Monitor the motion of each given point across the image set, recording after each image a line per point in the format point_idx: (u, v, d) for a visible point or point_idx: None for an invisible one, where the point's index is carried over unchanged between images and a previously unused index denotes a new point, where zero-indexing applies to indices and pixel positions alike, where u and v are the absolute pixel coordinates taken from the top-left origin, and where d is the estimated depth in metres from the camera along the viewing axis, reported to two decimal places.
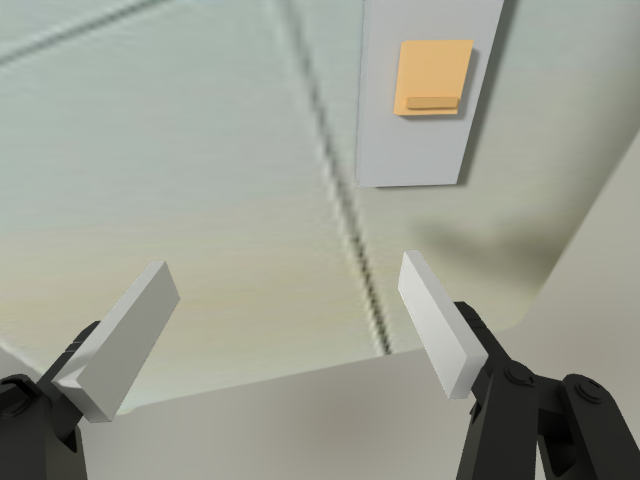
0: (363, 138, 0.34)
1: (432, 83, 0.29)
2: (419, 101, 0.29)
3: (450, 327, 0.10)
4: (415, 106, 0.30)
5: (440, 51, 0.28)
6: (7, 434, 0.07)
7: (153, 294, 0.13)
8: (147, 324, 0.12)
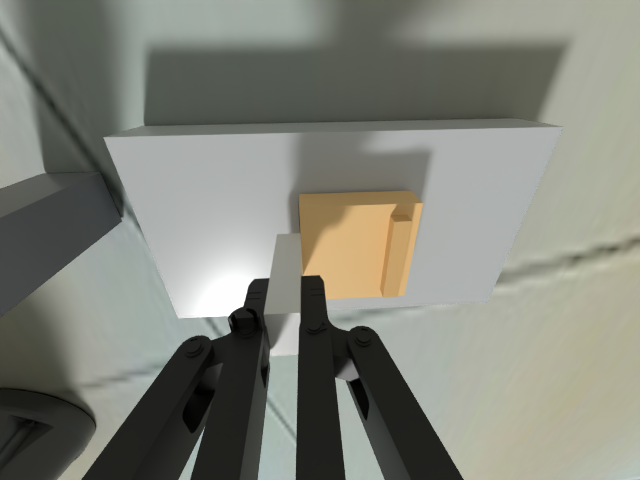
0: (411, 304, 0.22)
1: (363, 257, 0.17)
2: (390, 282, 0.17)
3: (284, 292, 0.12)
4: (397, 286, 0.17)
5: (318, 256, 0.16)
6: (238, 350, 0.09)
7: None
8: None
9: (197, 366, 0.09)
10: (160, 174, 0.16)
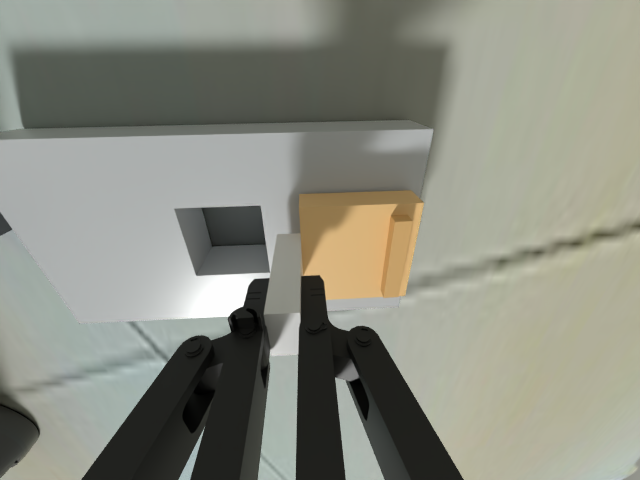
0: None
1: (363, 258, 0.17)
2: (391, 282, 0.17)
3: (284, 292, 0.12)
4: (398, 286, 0.17)
5: (318, 256, 0.16)
6: (238, 350, 0.09)
7: None
8: None
9: (197, 366, 0.09)
10: (21, 179, 0.15)
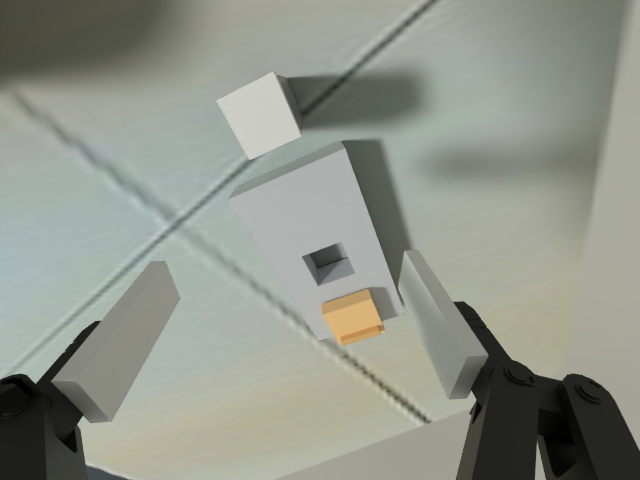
0: (301, 313, 0.39)
1: (354, 325, 0.37)
2: (350, 340, 0.38)
3: (450, 327, 0.10)
4: (348, 343, 0.38)
5: (349, 311, 0.36)
6: (7, 434, 0.07)
7: (153, 294, 0.13)
8: (147, 324, 0.12)
9: None
10: (333, 177, 0.29)
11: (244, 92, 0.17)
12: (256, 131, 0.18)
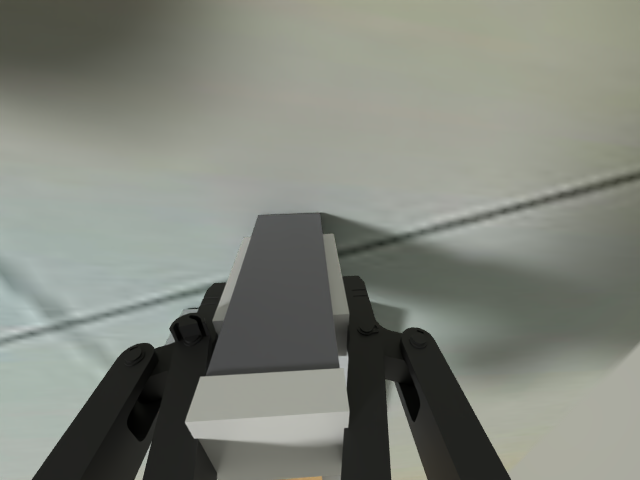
0: None
1: None
2: None
3: None
4: None
5: None
6: (184, 358, 0.09)
7: None
8: None
9: (139, 373, 0.09)
10: None
11: (263, 423, 0.07)
12: (257, 463, 0.08)
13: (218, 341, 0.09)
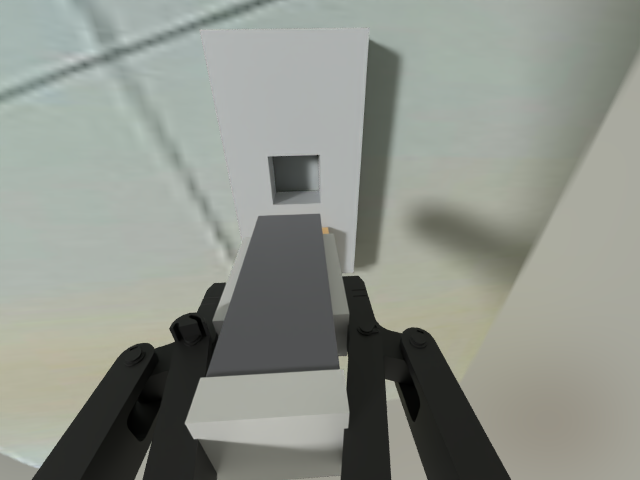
0: (241, 234, 0.32)
1: None
2: None
3: None
4: None
5: None
6: (184, 358, 0.09)
7: None
8: None
9: (139, 373, 0.09)
10: (343, 61, 0.23)
11: (263, 424, 0.07)
12: (257, 464, 0.08)
13: (217, 342, 0.09)
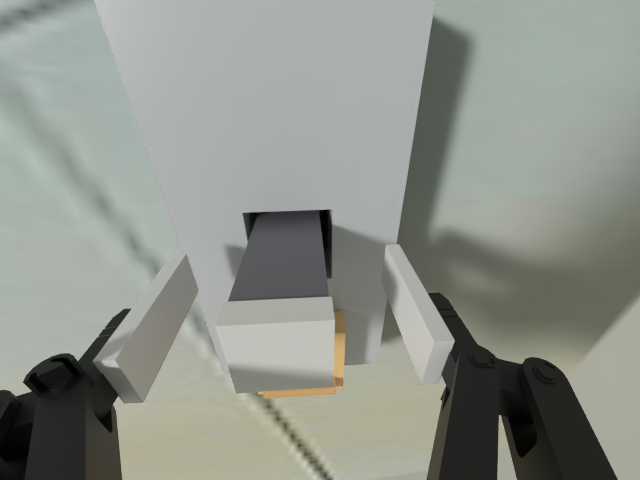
0: (207, 321, 0.20)
1: None
2: (280, 392, 0.20)
3: (421, 315, 0.11)
4: (275, 396, 0.21)
5: None
6: (53, 409, 0.08)
7: (176, 284, 0.13)
8: (172, 313, 0.13)
9: None
10: (381, 47, 0.12)
11: (271, 329, 0.09)
12: (266, 370, 0.11)
13: (235, 282, 0.12)
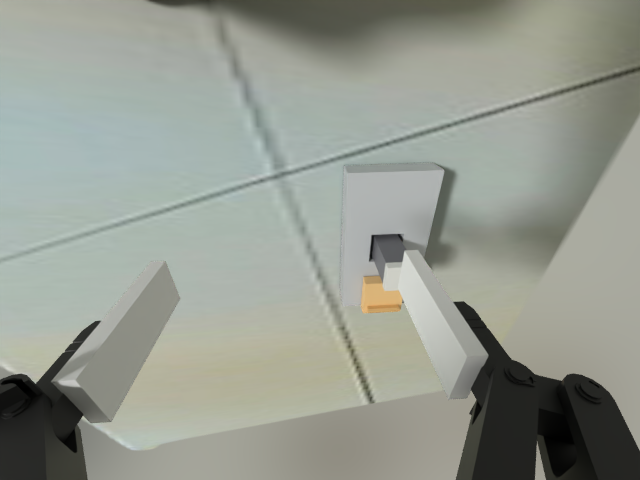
0: (343, 279, 0.48)
1: (382, 299, 0.47)
2: (375, 310, 0.48)
3: (450, 327, 0.10)
4: (372, 312, 0.48)
5: None
6: (7, 434, 0.07)
7: (153, 294, 0.13)
8: (147, 324, 0.12)
9: None
10: (426, 186, 0.39)
11: None
12: (395, 282, 0.38)
13: (383, 258, 0.39)
